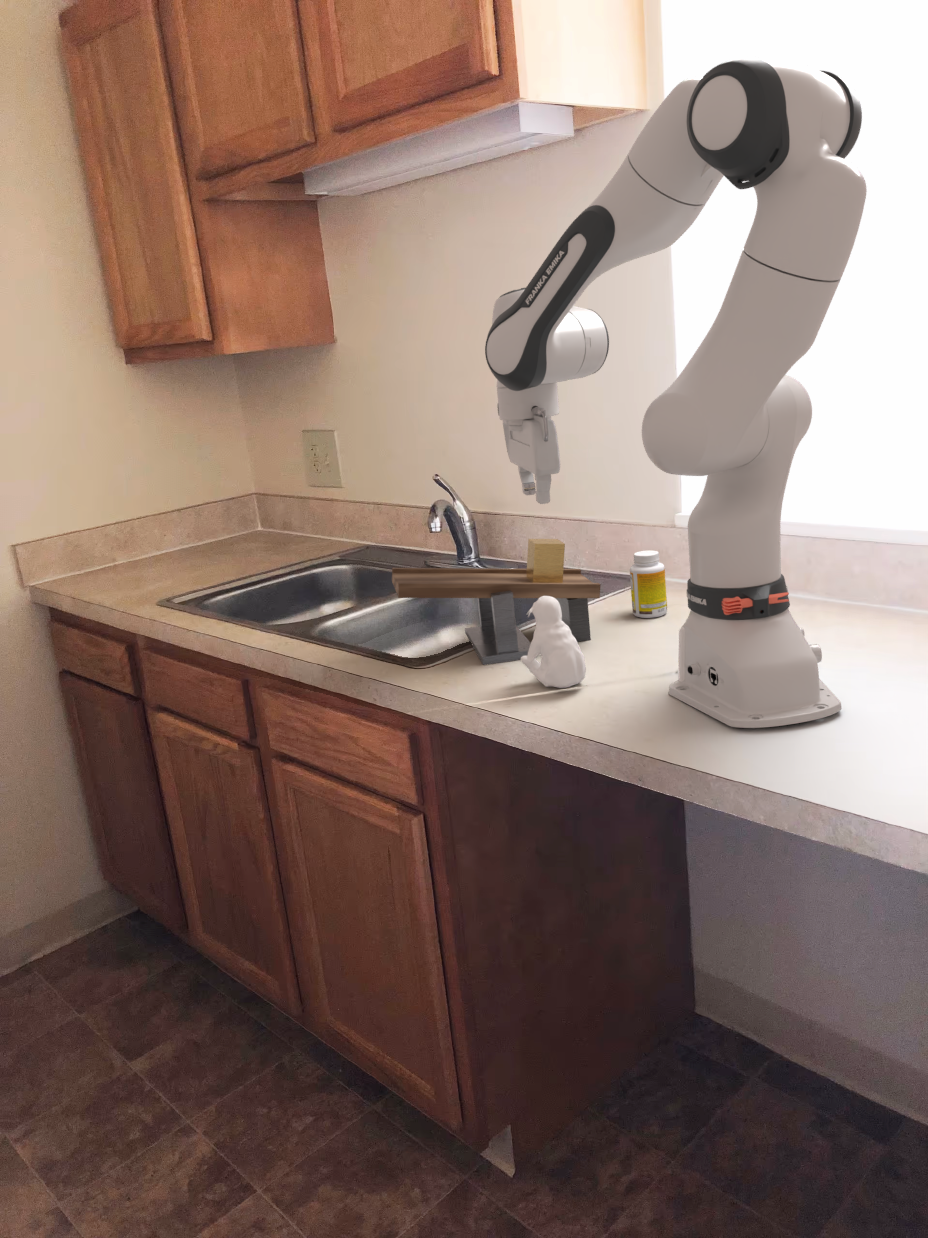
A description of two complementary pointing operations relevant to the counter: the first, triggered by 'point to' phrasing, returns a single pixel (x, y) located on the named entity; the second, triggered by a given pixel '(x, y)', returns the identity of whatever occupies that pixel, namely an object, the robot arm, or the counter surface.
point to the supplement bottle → (648, 585)
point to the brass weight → (545, 560)
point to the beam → (487, 583)
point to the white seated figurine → (554, 647)
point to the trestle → (505, 639)
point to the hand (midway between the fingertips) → (536, 498)
